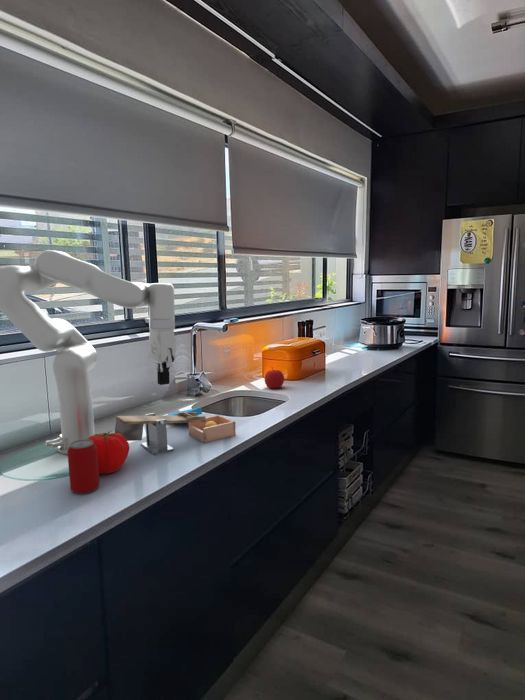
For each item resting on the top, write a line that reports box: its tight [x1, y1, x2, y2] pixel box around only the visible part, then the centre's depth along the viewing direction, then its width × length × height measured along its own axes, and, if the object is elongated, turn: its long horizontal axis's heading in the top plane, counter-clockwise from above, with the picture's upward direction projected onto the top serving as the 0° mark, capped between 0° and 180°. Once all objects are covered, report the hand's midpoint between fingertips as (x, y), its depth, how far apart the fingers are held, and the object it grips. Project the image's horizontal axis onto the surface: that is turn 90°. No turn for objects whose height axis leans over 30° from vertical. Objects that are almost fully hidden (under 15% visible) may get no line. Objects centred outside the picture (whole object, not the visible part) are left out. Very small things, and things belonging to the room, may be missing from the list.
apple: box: [264, 367, 285, 389], centre depth 221 cm, size 9×9×10 cm
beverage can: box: [67, 439, 100, 495], centre depth 116 cm, size 7×7×12 cm
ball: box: [205, 421, 217, 428], centre depth 156 cm, size 4×4×4 cm
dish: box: [188, 414, 237, 443], centre depth 156 cm, size 12×11×4 cm
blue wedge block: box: [167, 406, 203, 416], centre depth 169 cm, size 7×7×18 cm
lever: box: [114, 411, 206, 442], centre depth 145 cm, size 26×7×7 cm, turn 126°
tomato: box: [88, 430, 130, 475], centre depth 128 cm, size 13×12×11 cm
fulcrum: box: [140, 412, 175, 456], centre depth 145 cm, size 6×11×10 cm, turn 36°
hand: (163, 383), depth 145 cm, fingers closed
